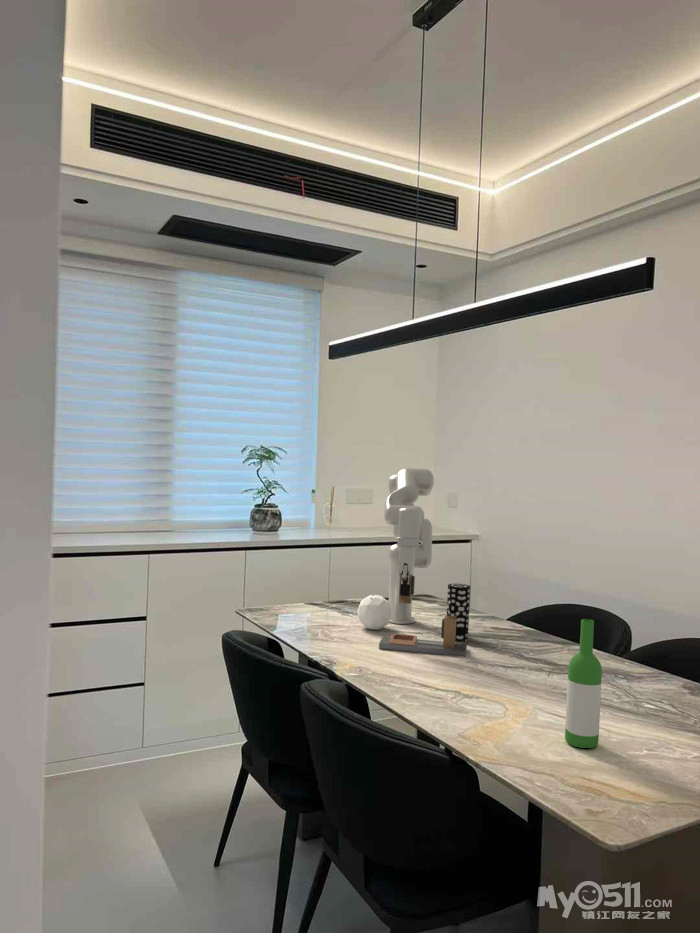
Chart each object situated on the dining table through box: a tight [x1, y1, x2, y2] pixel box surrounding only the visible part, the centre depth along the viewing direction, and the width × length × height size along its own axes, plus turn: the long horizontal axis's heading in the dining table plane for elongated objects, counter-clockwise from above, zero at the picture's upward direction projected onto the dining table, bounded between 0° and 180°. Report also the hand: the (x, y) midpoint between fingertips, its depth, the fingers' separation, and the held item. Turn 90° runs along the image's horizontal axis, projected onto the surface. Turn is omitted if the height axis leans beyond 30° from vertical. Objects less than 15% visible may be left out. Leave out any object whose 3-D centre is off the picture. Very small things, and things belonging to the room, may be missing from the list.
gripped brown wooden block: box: [399, 573, 416, 604], centre depth 252 cm, size 5×5×10 cm
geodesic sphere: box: [356, 594, 392, 631], centre depth 277 cm, size 14×14×14 cm
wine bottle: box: [564, 618, 603, 749], centre depth 172 cm, size 8×8×30 cm
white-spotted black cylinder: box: [446, 583, 471, 643], centre depth 268 cm, size 8×8×20 cm
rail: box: [378, 614, 468, 658], centre depth 251 cm, size 10×30×12 cm, turn 80°
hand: (405, 593), depth 252 cm, fingers closed on gripped brown wooden block, 5 cm apart
